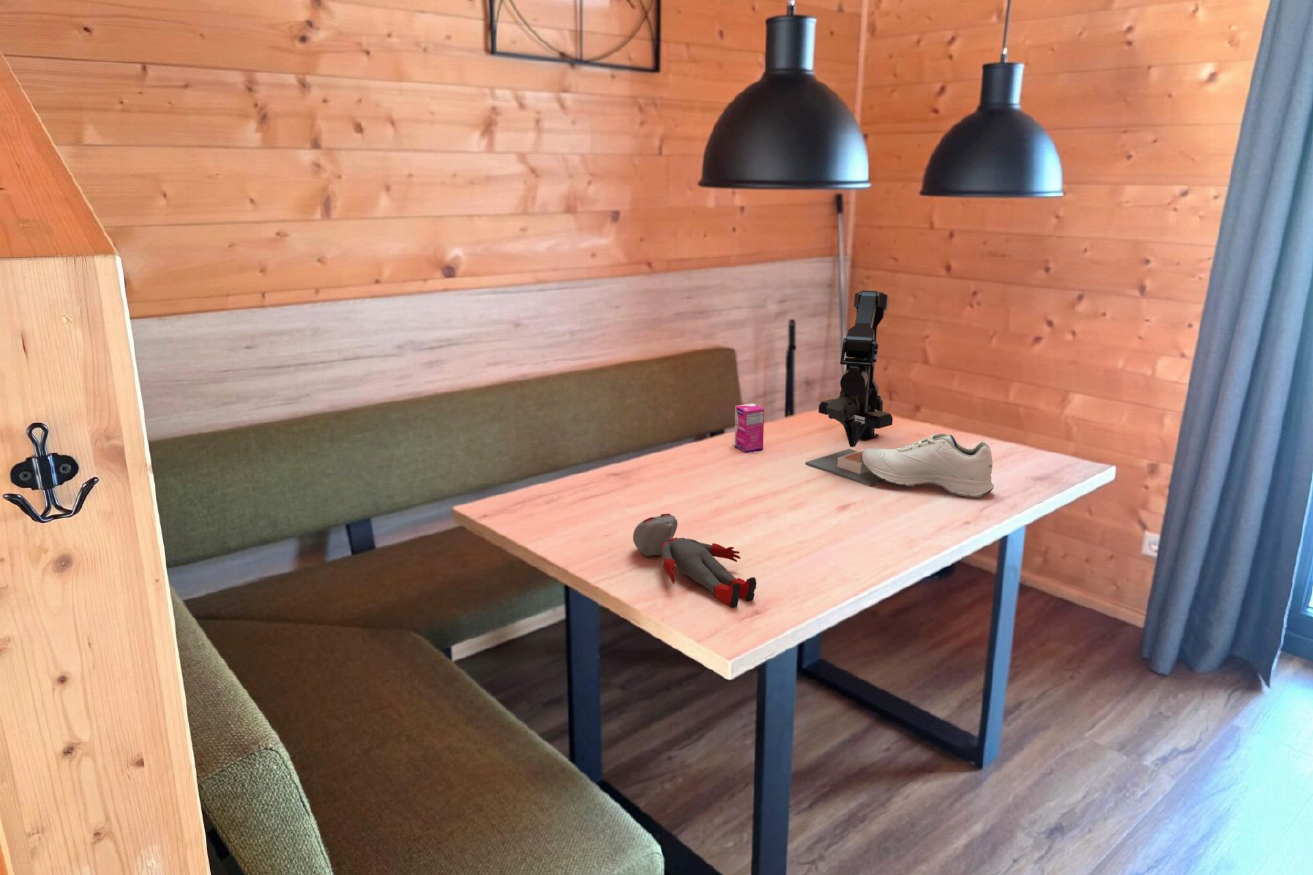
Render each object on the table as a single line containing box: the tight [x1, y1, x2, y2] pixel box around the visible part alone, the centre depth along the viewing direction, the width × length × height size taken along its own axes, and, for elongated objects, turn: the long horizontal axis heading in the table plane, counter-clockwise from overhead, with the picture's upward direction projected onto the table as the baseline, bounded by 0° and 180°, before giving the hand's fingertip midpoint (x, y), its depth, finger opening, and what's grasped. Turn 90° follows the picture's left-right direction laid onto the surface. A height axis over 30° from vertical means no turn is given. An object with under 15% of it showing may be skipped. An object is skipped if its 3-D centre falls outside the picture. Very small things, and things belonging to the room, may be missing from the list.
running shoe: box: [861, 433, 995, 499], centre depth 212 cm, size 11×30×13 cm, turn 72°
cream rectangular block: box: [837, 449, 868, 474], centre depth 225 cm, size 9×2×7 cm
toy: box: [632, 513, 757, 609], centre depth 169 cm, size 16×10×30 cm
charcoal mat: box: [804, 448, 885, 487], centre depth 226 cm, size 17×20×1 cm
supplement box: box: [733, 402, 765, 454], centre depth 239 cm, size 6×6×12 cm
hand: (852, 446), depth 226 cm, fingers closed
